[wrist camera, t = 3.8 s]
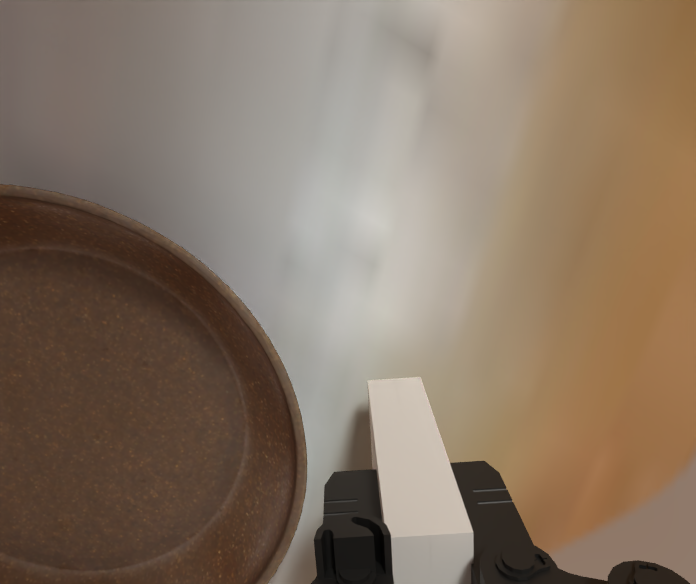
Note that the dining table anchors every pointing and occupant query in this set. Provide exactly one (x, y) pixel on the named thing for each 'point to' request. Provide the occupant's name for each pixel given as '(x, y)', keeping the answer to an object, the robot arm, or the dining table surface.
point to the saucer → (135, 409)
